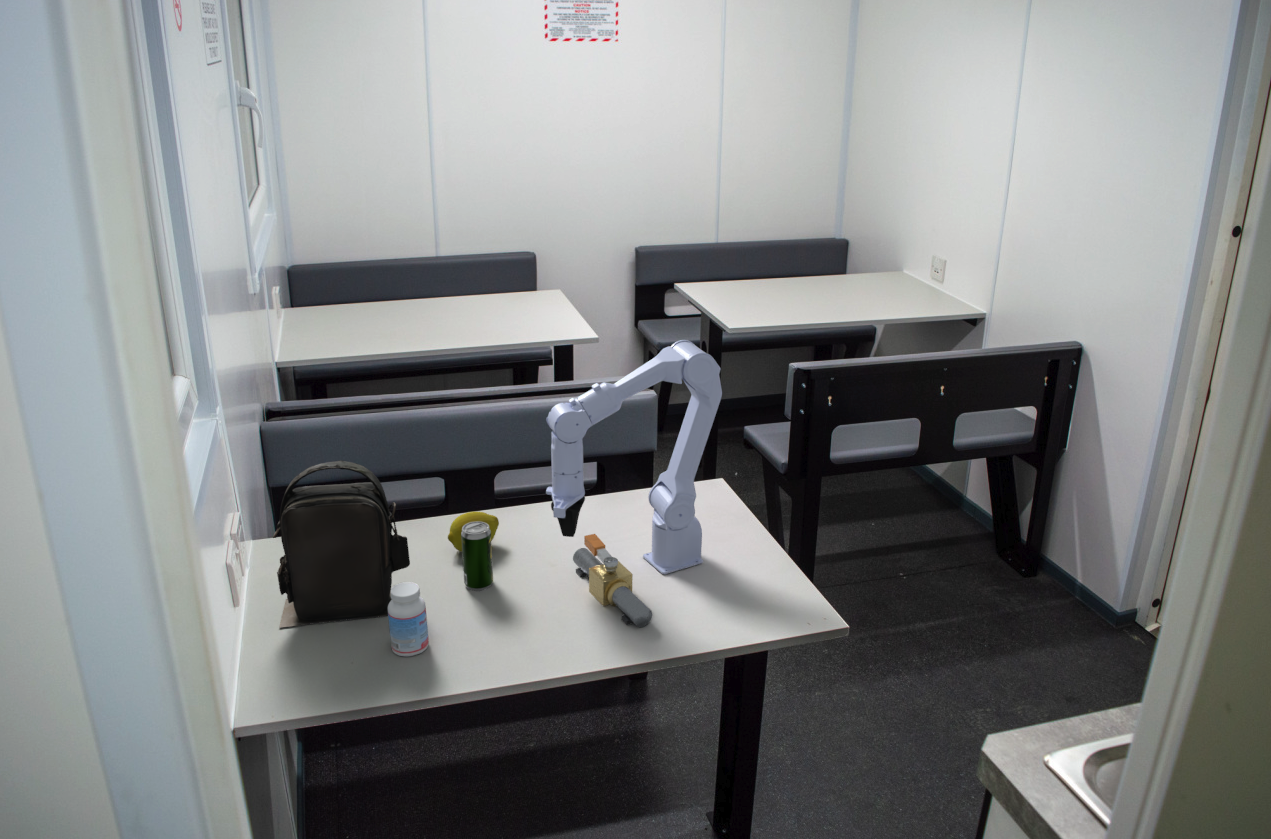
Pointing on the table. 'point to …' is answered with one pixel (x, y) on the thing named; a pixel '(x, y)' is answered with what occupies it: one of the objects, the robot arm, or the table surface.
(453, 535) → the lemon
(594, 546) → the valve lever
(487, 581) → the beer can
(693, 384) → the robot arm
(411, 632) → the pill bottle
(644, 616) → the valve pipe
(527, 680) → the table surface
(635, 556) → the table surface
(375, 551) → the shoulder bag
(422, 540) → the table surface
